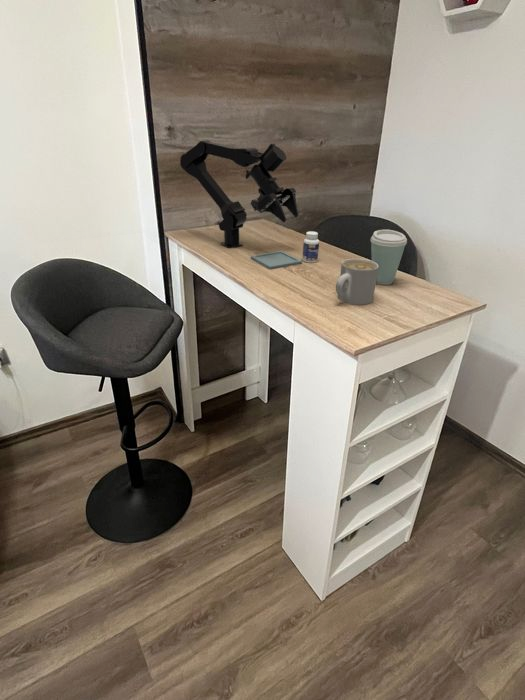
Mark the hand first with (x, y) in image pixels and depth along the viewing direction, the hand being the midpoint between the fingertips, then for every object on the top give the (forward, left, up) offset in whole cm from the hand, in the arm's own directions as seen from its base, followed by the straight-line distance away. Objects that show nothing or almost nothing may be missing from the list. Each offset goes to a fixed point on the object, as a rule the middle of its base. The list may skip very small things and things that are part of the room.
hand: (291, 219), depth 145 cm
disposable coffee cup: (+34, +12, -13) cm, 39 cm away
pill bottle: (+7, +4, -13) cm, 16 cm away
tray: (+2, -7, -13) cm, 15 cm away
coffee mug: (+40, -6, -13) cm, 43 cm away
